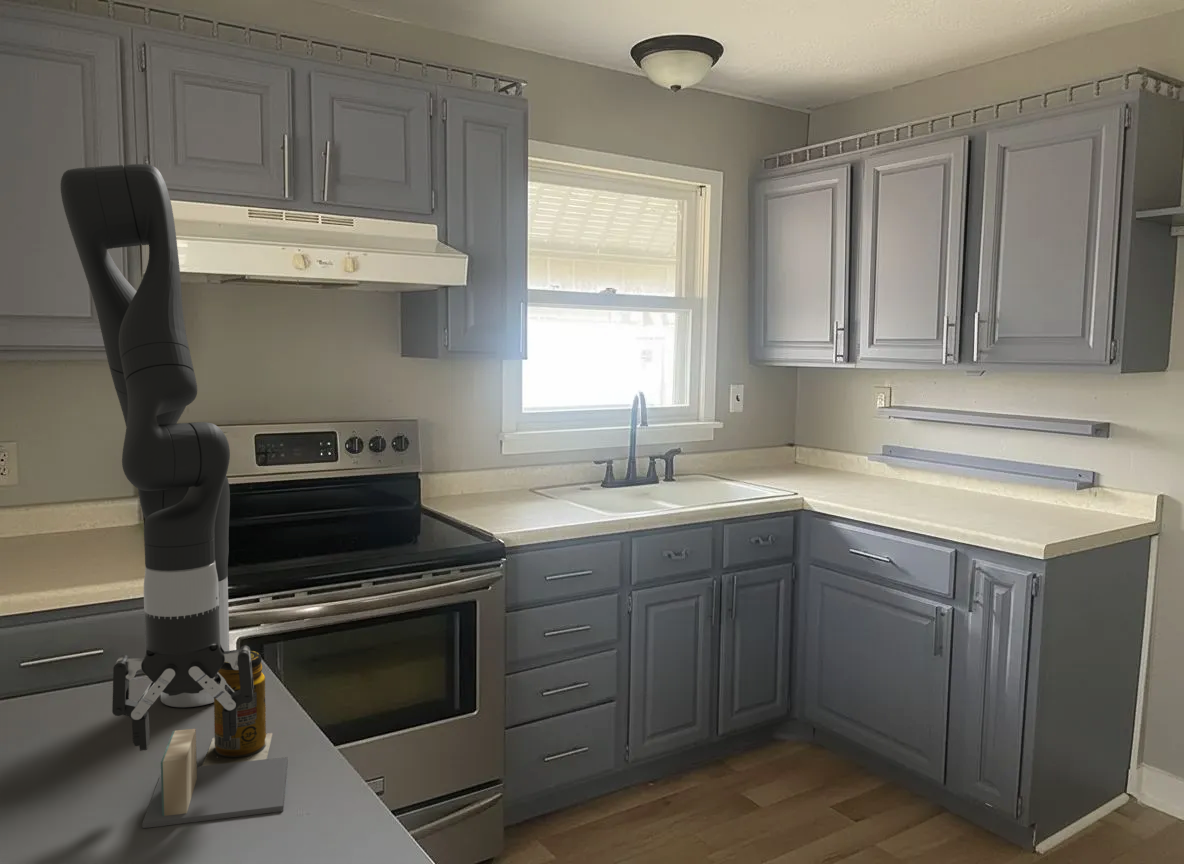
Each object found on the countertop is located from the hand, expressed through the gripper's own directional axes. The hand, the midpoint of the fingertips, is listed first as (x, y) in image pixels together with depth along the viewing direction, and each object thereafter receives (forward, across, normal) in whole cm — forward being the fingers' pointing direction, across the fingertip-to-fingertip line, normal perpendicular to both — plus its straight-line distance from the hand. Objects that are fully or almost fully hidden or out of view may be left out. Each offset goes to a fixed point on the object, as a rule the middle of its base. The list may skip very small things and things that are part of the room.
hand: (186, 743), depth 101 cm
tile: (+2, -1, -5) cm, 6 cm away
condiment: (+6, +5, +10) cm, 13 cm away
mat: (+6, +3, 0) cm, 7 cm away
